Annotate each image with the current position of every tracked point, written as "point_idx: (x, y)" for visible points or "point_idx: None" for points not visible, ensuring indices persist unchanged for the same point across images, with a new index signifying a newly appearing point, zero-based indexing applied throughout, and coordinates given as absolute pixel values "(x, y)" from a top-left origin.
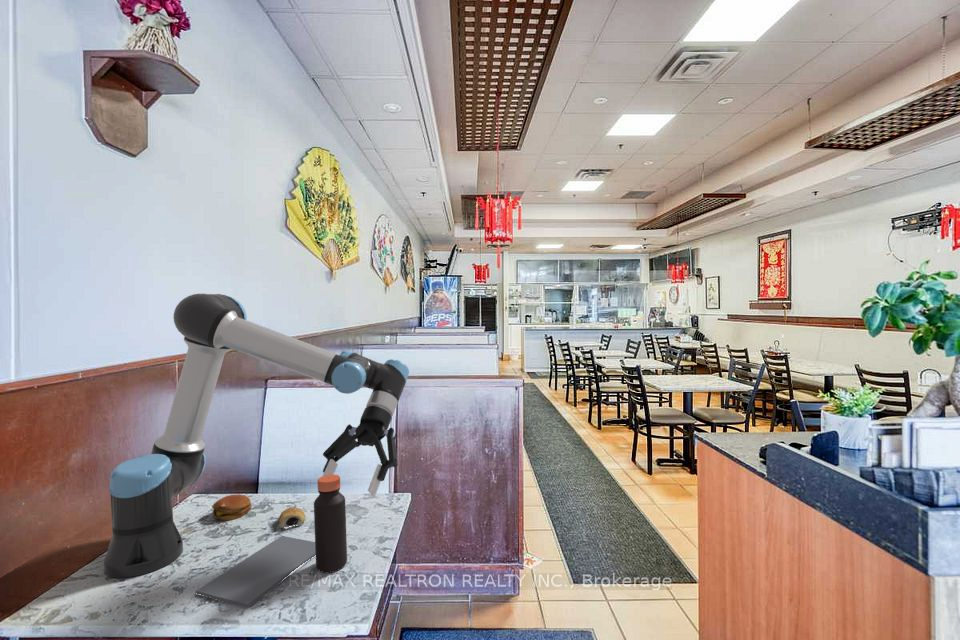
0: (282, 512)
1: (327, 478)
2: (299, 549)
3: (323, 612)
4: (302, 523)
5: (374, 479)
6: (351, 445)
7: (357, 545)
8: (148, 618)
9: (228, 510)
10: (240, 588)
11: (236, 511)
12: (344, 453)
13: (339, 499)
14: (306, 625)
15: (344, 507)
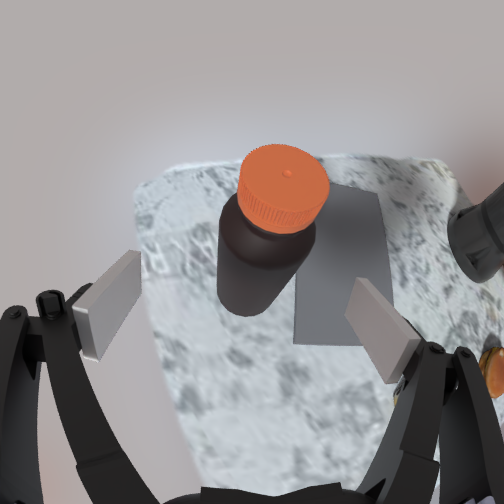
0: None
1: (291, 172)
2: (334, 311)
3: (191, 184)
4: (394, 400)
5: (110, 268)
6: (388, 452)
7: (234, 367)
8: (375, 164)
9: (492, 354)
10: (333, 201)
11: (486, 367)
12: (395, 417)
13: (228, 210)
14: (200, 165)
15: (219, 241)
